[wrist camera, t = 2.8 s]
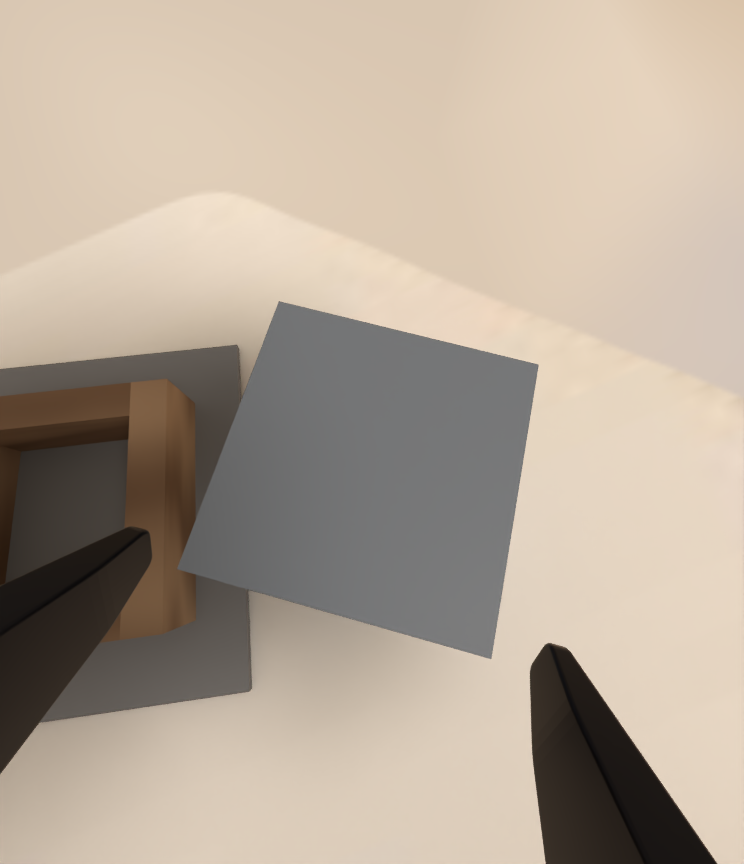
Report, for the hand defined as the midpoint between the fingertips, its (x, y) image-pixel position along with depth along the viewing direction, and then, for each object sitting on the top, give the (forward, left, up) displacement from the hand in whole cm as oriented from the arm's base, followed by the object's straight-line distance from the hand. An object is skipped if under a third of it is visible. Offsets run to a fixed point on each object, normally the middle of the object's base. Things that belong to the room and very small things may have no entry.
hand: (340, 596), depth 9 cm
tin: (+1, +2, -10) cm, 10 cm away
